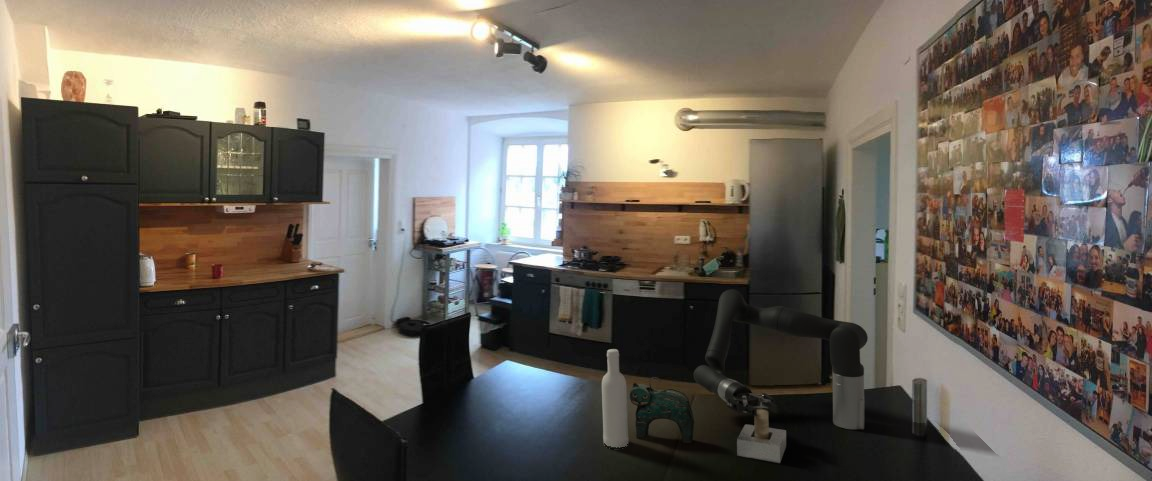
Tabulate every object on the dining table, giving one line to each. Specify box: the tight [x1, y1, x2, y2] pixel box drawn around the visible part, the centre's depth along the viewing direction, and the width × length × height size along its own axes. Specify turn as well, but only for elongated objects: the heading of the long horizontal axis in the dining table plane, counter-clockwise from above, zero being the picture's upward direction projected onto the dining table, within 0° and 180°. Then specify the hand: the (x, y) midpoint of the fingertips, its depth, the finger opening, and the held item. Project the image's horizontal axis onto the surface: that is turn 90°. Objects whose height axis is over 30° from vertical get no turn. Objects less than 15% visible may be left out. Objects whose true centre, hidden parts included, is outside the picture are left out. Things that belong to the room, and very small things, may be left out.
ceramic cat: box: [629, 376, 695, 444], centre depth 178 cm, size 20×6×20 cm, turn 70°
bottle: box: [601, 348, 629, 448], centre depth 175 cm, size 8×8×30 cm
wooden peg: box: [753, 408, 770, 440], centre depth 167 cm, size 4×4×12 cm
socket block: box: [736, 424, 787, 464], centre depth 167 cm, size 12×12×5 cm
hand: (766, 411), depth 164 cm, fingers open, 6 cm apart
